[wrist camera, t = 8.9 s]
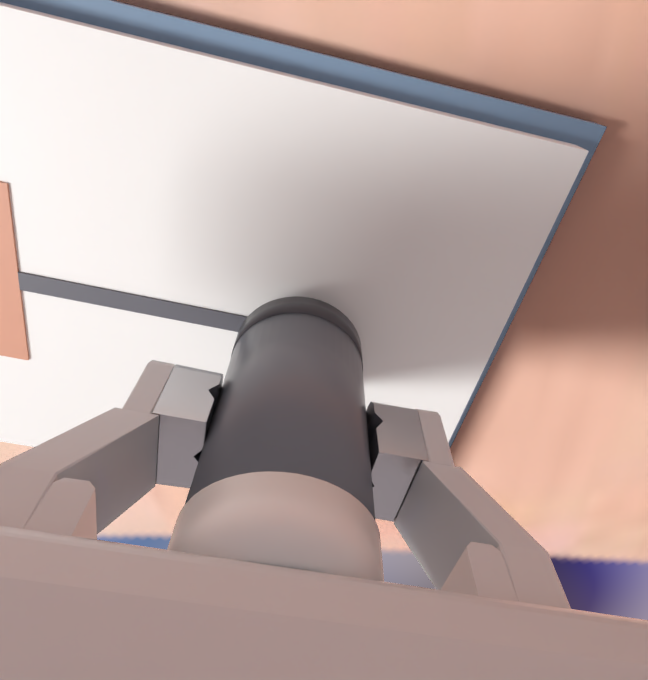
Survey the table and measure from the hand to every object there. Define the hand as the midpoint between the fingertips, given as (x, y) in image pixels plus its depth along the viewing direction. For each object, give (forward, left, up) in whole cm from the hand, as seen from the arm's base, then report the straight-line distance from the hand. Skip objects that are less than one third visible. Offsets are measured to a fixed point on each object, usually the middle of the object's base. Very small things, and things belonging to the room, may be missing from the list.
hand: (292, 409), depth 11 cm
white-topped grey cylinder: (0, 0, -2) cm, 2 cm away
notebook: (+6, 0, -4) cm, 7 cm away
